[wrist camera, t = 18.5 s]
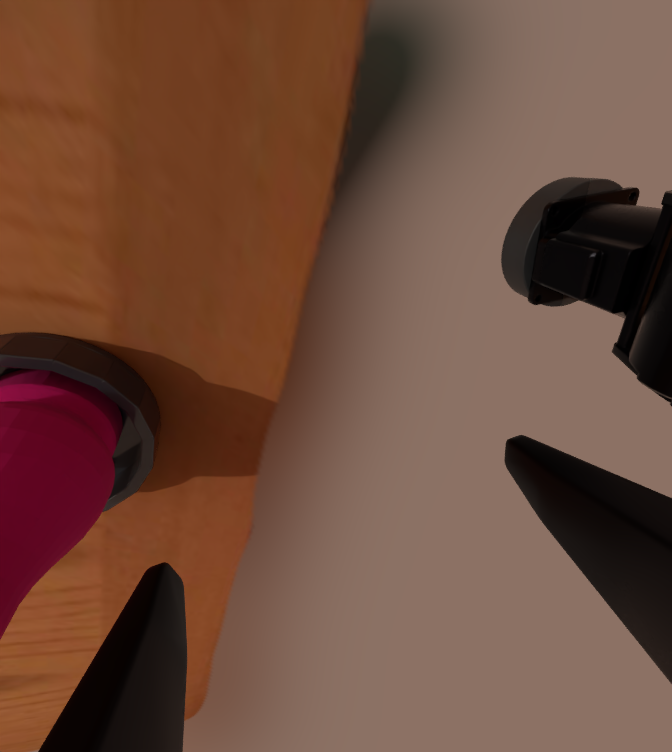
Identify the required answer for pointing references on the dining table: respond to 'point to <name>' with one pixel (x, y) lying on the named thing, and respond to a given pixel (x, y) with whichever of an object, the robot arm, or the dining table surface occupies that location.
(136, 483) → the tray
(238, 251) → the dining table surface
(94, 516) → the pepper mill
